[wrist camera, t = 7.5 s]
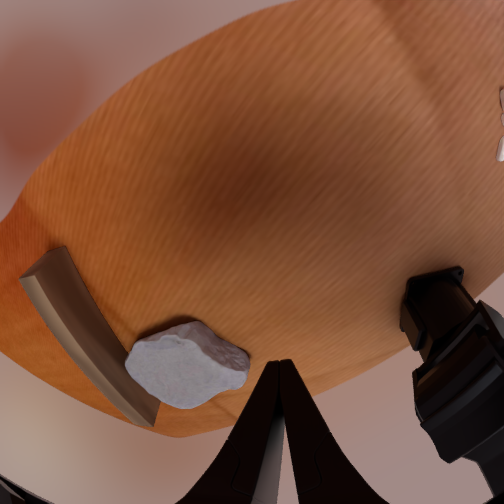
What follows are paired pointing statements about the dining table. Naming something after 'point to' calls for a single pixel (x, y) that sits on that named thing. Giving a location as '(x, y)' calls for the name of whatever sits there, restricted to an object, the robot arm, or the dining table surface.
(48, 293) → the board
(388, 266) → the dining table surface
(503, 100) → the acanthus leaf ornament
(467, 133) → the dining table surface
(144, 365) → the stone block
